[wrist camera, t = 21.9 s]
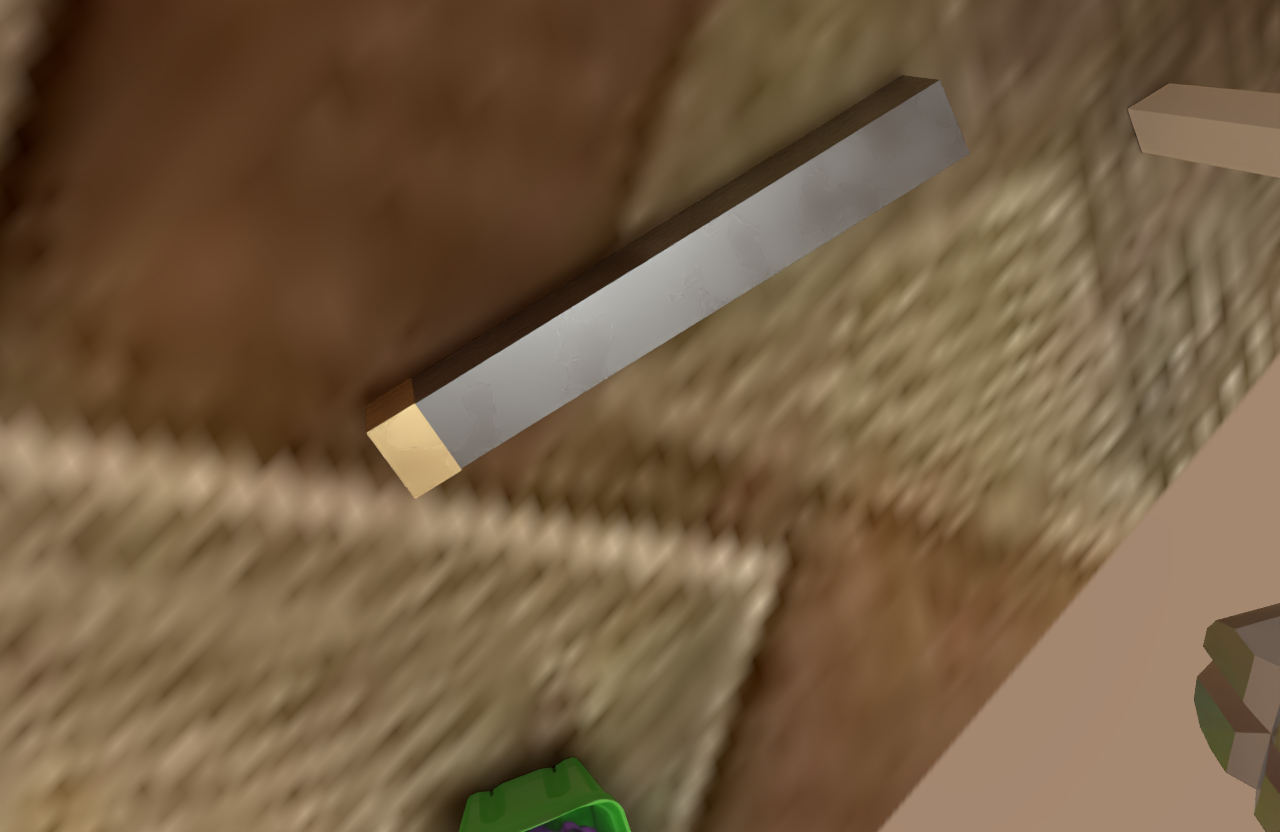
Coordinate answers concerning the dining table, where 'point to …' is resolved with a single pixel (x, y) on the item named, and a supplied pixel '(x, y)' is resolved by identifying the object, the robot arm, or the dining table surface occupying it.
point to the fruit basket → (546, 804)
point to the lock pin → (664, 282)
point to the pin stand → (1211, 127)
